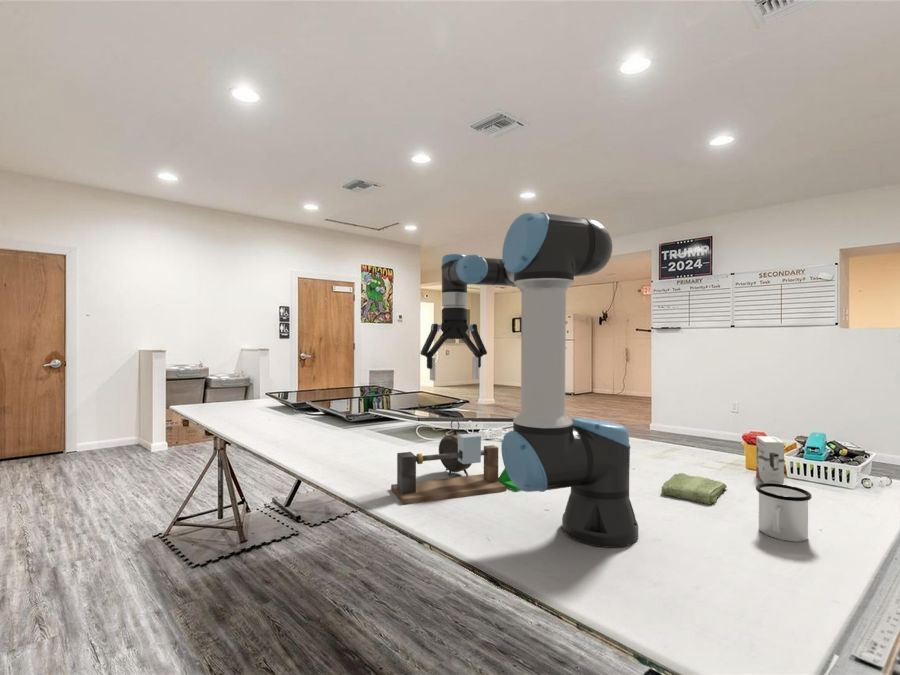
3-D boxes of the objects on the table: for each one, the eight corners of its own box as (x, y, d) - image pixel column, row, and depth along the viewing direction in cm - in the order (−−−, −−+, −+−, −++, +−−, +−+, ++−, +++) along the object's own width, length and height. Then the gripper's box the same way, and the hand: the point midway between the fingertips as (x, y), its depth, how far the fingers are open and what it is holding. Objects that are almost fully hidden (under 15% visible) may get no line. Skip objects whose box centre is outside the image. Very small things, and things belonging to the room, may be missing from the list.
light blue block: (474, 458, 129) (474, 433, 129) (480, 462, 126) (480, 436, 126) (457, 460, 127) (457, 434, 127) (463, 464, 124) (463, 437, 124)
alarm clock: (474, 476, 136) (474, 420, 136) (461, 480, 132) (461, 423, 132) (448, 469, 144) (448, 416, 144) (435, 472, 140) (435, 418, 140)
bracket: (517, 492, 123) (517, 466, 123) (497, 485, 130) (497, 460, 130) (548, 484, 131) (548, 459, 131) (527, 477, 137) (527, 453, 137)
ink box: (755, 474, 139) (755, 435, 139) (774, 476, 137) (774, 436, 137) (764, 483, 130) (764, 441, 130) (784, 485, 129) (784, 442, 129)
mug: (760, 520, 104) (760, 480, 104) (814, 533, 97) (814, 489, 97) (747, 537, 95) (748, 493, 95) (805, 552, 89) (806, 504, 89)
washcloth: (728, 490, 126) (728, 478, 126) (713, 508, 113) (713, 494, 113) (676, 480, 135) (676, 468, 135) (656, 496, 121) (656, 483, 121)
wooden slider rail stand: (486, 477, 135) (486, 441, 135) (506, 490, 124) (506, 451, 124) (391, 489, 125) (391, 450, 125) (403, 504, 114) (403, 461, 114)
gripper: (487, 309, 147) (486, 377, 147) (410, 307, 138) (410, 379, 138) (498, 307, 140) (497, 379, 140) (417, 305, 131) (417, 381, 131)
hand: (454, 379), depth 139 cm, fingers open, 13 cm apart
